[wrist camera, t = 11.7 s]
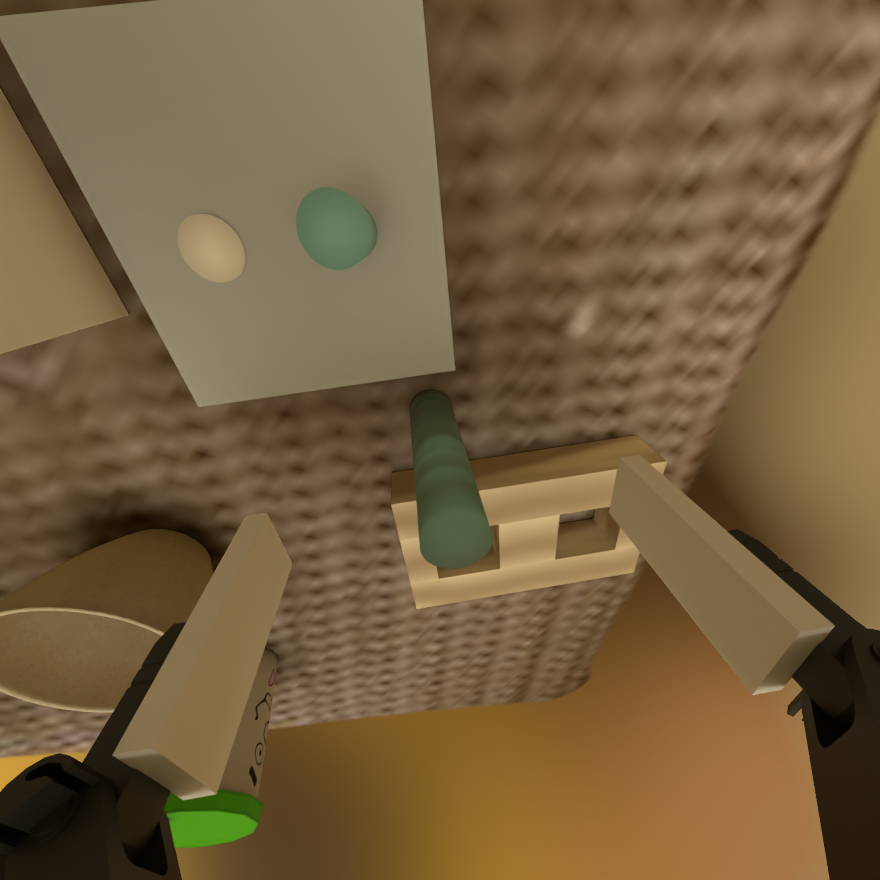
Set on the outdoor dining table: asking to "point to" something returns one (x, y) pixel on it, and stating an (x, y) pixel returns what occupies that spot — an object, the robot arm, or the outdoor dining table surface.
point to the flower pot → (98, 619)
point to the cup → (231, 777)
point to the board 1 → (257, 180)
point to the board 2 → (530, 522)
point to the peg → (445, 487)
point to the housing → (43, 252)
